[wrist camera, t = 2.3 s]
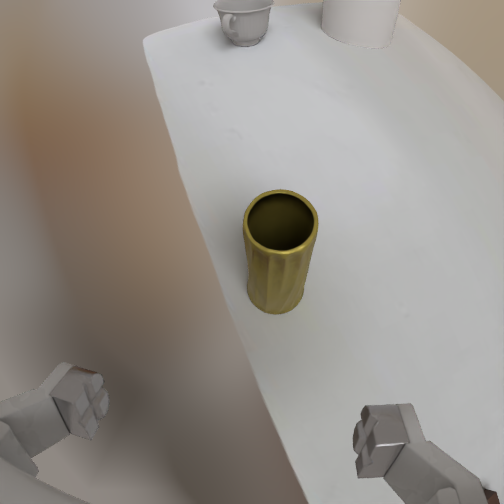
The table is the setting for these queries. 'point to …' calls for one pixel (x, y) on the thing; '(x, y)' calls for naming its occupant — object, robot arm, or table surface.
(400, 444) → the robot arm
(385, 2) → the cylinder
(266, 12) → the teacup
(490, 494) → the brown wooden square frame
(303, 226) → the vase
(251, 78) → the table surface
